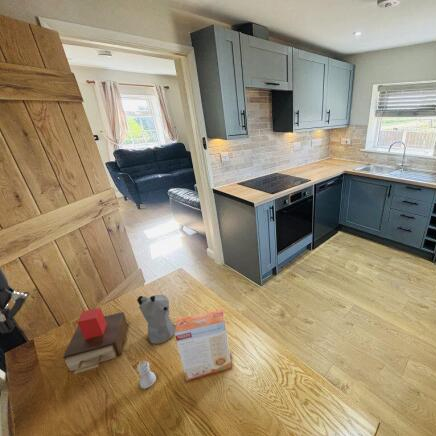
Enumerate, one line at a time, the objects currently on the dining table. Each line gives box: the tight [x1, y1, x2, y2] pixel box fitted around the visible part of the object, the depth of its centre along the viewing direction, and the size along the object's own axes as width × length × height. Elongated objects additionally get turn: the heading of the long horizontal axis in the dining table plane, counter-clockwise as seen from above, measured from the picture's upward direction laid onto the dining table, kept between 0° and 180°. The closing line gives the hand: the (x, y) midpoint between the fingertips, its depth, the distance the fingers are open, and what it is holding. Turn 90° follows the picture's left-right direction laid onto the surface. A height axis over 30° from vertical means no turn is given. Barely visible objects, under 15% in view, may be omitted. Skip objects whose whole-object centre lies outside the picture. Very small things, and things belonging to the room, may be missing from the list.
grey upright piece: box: [136, 294, 176, 345], centre depth 87 cm, size 15×9×18 cm, turn 67°
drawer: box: [64, 345, 118, 375], centre depth 81 cm, size 18×12×5 cm
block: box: [76, 307, 107, 340], centre depth 82 cm, size 5×5×8 cm
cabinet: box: [62, 311, 129, 361], centre depth 84 cm, size 15×14×7 cm
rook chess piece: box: [136, 360, 157, 389], centre depth 73 cm, size 4×4×8 cm
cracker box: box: [174, 308, 232, 382], centre depth 75 cm, size 14×6×21 cm, turn 108°
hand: (8, 330), depth 59 cm, fingers closed
